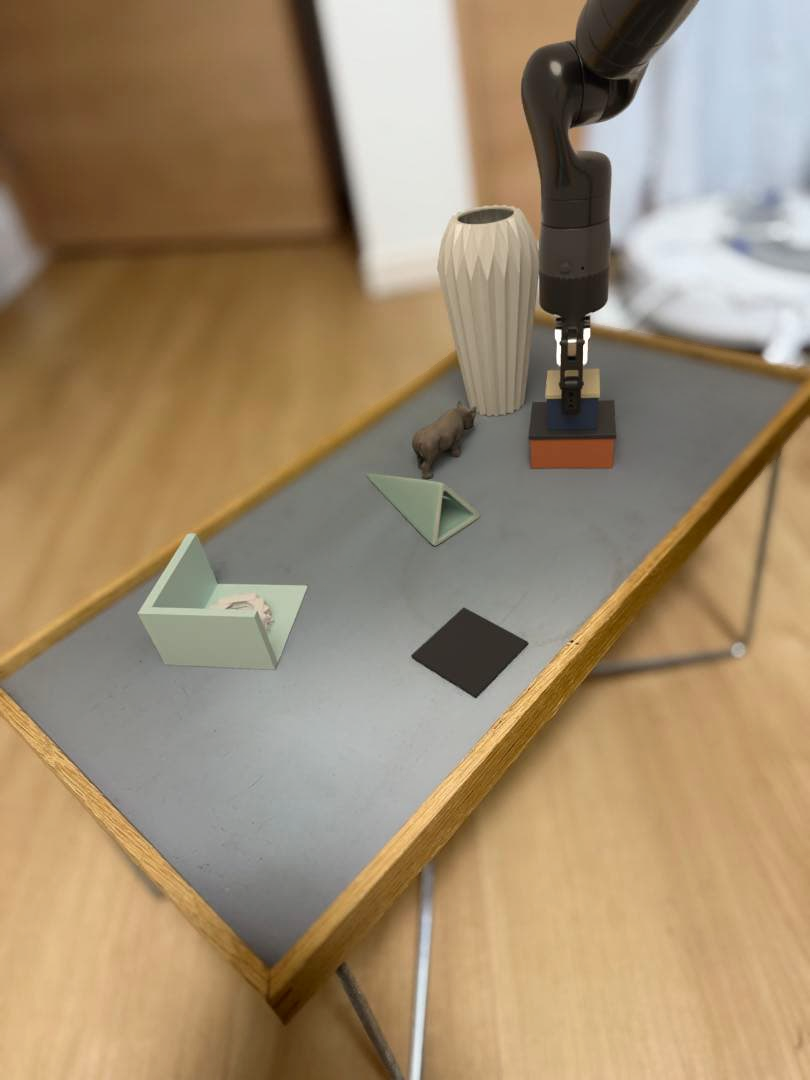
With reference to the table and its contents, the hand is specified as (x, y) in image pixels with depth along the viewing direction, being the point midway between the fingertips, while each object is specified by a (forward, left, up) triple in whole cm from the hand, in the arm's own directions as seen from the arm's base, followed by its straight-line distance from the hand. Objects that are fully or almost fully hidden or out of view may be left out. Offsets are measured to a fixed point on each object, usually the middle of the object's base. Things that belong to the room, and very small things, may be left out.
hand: (571, 395), depth 86 cm
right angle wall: (+34, +33, -8) cm, 48 cm away
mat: (+9, +35, -8) cm, 37 cm away
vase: (+11, -13, -8) cm, 19 cm away
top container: (0, 0, -3) cm, 3 cm away
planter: (+20, +13, -8) cm, 25 cm away
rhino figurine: (+16, 0, -8) cm, 18 cm away
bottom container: (0, 0, -8) cm, 8 cm away
